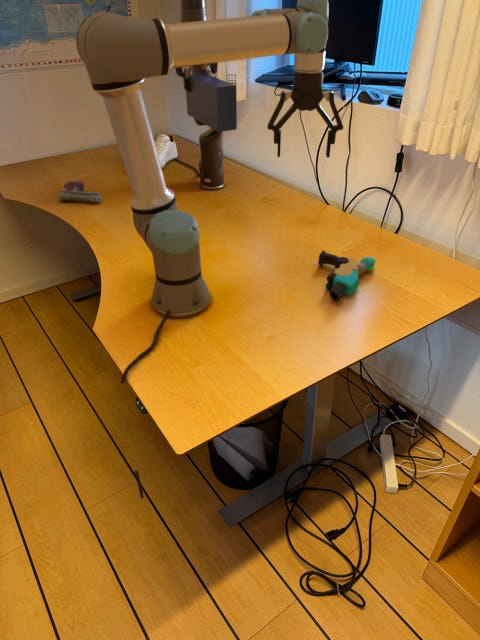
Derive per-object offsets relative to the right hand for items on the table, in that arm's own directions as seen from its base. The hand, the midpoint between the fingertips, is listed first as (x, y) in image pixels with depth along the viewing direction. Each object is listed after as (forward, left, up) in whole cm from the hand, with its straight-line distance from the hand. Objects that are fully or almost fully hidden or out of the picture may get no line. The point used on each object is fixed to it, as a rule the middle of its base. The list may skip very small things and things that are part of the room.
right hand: (197, 90), depth 146 cm
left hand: (+39, +4, -13) cm, 42 cm away
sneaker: (-59, +22, -41) cm, 76 cm away
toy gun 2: (+60, -3, -41) cm, 73 cm away
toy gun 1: (-47, -22, -41) cm, 67 cm away
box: (+8, -3, -7) cm, 11 cm away
